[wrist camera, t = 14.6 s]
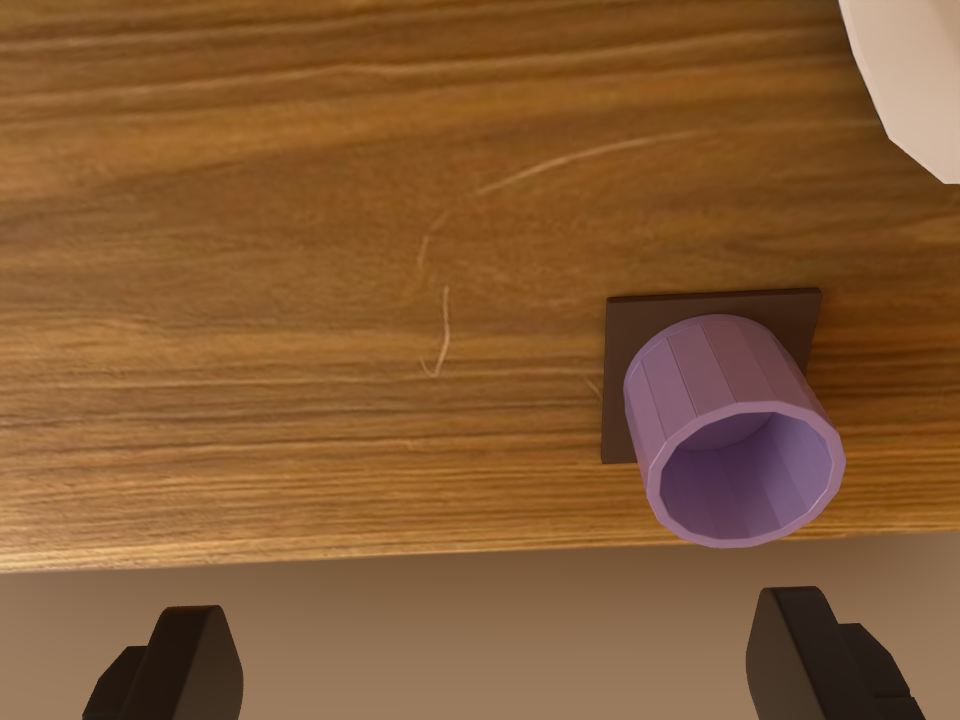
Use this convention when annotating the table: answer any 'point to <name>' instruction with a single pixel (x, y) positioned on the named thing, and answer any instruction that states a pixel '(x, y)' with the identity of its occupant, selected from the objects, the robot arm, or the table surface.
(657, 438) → the lavender faceted cup
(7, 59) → the table surface
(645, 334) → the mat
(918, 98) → the plate
